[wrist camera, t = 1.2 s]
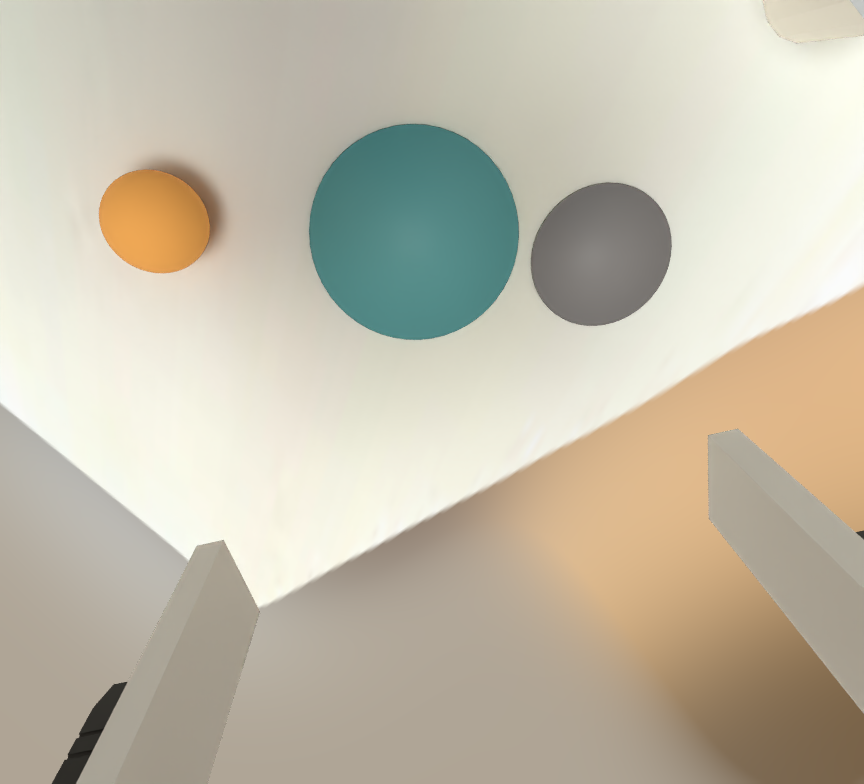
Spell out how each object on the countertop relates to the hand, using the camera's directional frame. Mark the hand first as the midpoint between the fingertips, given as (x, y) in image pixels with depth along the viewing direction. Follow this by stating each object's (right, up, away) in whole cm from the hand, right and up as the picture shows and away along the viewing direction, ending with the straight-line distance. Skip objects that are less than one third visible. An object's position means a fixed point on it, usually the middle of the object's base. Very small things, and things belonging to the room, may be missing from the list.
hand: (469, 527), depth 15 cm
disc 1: (-2, +13, +19) cm, 24 cm away
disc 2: (+10, +12, +20) cm, 26 cm away
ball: (-16, +13, +16) cm, 26 cm away
